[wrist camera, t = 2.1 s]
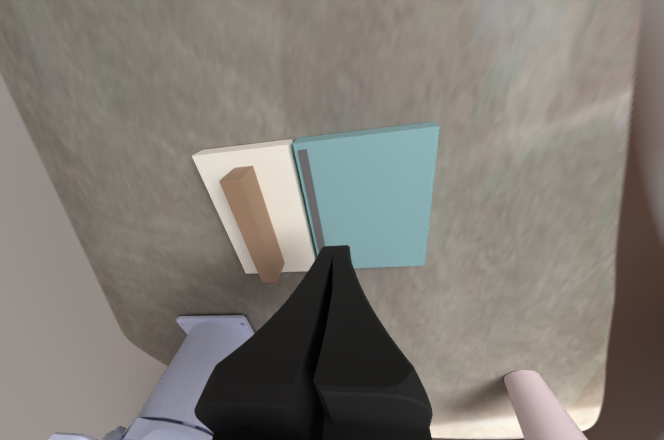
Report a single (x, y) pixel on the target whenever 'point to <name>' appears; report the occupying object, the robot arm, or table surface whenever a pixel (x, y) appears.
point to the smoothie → (539, 408)
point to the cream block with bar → (261, 206)
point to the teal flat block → (371, 191)
